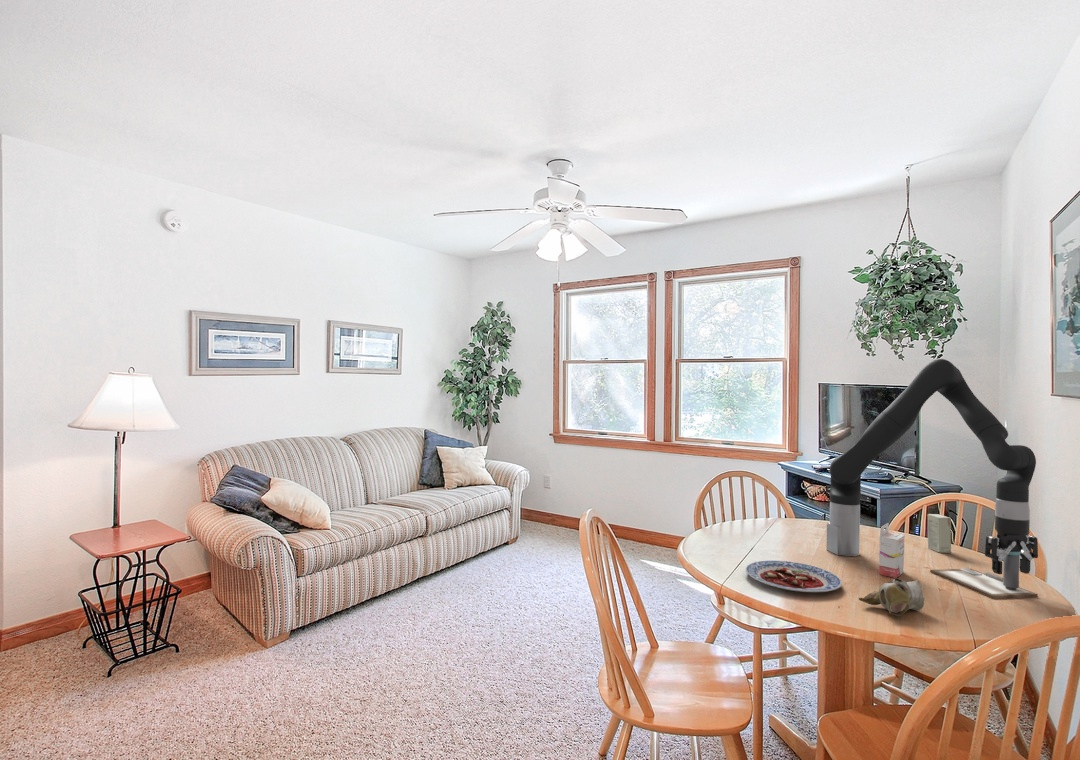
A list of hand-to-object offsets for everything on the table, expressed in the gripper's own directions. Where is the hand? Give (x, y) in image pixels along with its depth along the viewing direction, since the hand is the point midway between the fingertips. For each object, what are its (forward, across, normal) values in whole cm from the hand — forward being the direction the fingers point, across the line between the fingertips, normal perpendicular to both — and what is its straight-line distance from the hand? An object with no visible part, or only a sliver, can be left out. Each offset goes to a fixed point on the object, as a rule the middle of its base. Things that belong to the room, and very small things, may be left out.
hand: (1011, 573), depth 159 cm
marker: (+4, 0, 0) cm, 4 cm away
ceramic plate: (+6, -58, +13) cm, 60 cm away
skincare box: (+6, +12, +38) cm, 40 cm away
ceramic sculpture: (+6, -43, -9) cm, 44 cm away
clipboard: (+5, -3, +6) cm, 9 cm away
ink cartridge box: (+6, -23, +17) cm, 29 cm away
